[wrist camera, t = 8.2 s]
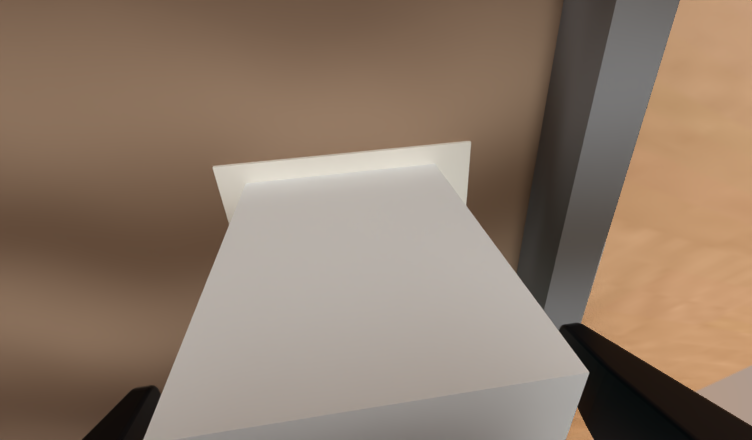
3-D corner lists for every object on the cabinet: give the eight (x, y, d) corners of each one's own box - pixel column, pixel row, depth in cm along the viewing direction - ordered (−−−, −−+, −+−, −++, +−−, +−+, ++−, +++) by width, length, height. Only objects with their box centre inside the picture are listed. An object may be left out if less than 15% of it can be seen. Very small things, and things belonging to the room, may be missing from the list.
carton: (295, 378, 12) (279, 651, 7) (245, 183, 9) (141, 444, 4) (438, 356, 13) (522, 599, 7) (447, 162, 9) (616, 368, 4)
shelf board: (-491, -213, 6) (-1205, -403, 3) (625, -223, 7) (803, -352, 5) (41, 416, 14) (-25, 515, 11) (515, 345, 15) (556, 417, 13)
